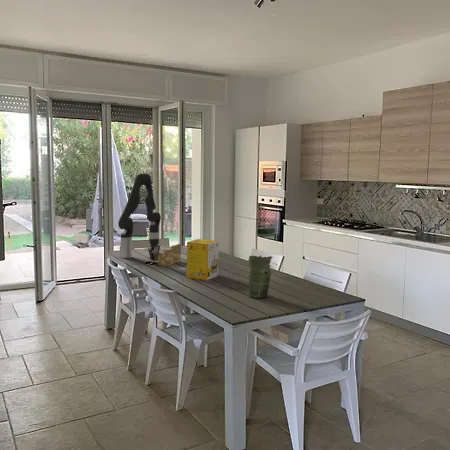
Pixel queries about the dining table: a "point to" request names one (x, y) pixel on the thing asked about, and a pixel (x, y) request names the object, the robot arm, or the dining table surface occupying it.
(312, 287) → the dining table surface
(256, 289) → the green vase
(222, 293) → the dining table surface
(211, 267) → the packaging box
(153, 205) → the robot arm
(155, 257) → the brown rectangular block
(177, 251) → the light wood notched block
